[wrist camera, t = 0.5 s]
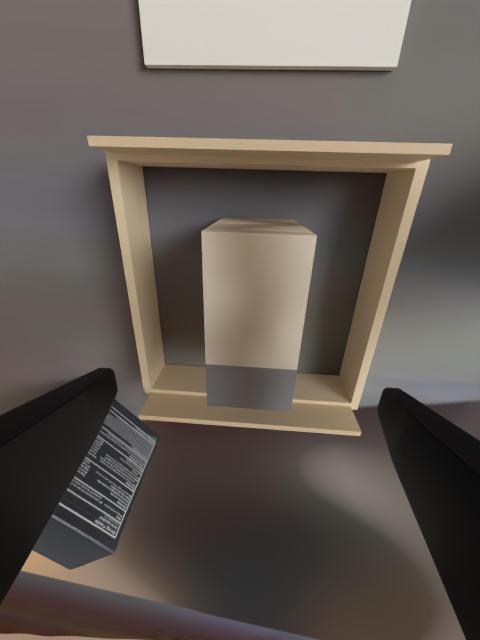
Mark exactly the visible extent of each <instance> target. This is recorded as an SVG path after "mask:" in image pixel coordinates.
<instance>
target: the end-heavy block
mask: <svg viewBox="0 0 480 640" xmlns="http://www.w3.org/2000/svg"><path fill="white" fill-rule="evenodd" d="M201 236H202V267H203V298H204V329H205V360H206V391H207V406H220V407H234V408H248V409H262V410H276V411H289V412H291V407H292V400H293V393H294V387H295V380H296V373H297V367H298V360H299V353H300V347H301V340H302V333H303V327H304V320H305V313H306V307H307V300H308V293H309V287H310V280H311V273H312V266H313V260H314V253H315V246H316V240H317V235H315V234H314V233H313V232H311V231H310V230H308V229H307V228H306V227H304V226H303V225H301V224H300V223H299V222H297V221H296V220H288V219H261V218H234V217H223V218H222V219H220V220H218V221H217V222H215V223H214V224H212V225H210V226H209V227H207V228H206V229H204V230H202V231H201Z"/></svg>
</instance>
